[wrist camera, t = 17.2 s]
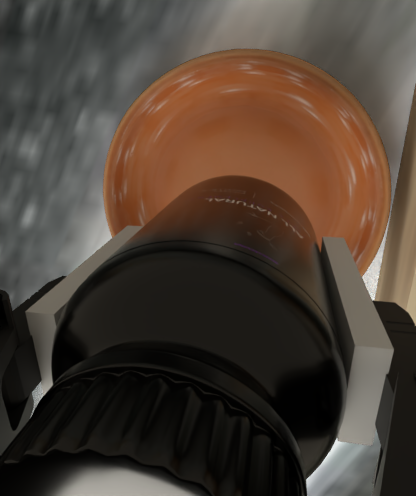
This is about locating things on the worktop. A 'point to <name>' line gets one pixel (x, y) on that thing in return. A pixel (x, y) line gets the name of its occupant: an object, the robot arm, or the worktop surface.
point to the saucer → (253, 144)
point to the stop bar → (402, 232)
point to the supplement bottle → (192, 359)
